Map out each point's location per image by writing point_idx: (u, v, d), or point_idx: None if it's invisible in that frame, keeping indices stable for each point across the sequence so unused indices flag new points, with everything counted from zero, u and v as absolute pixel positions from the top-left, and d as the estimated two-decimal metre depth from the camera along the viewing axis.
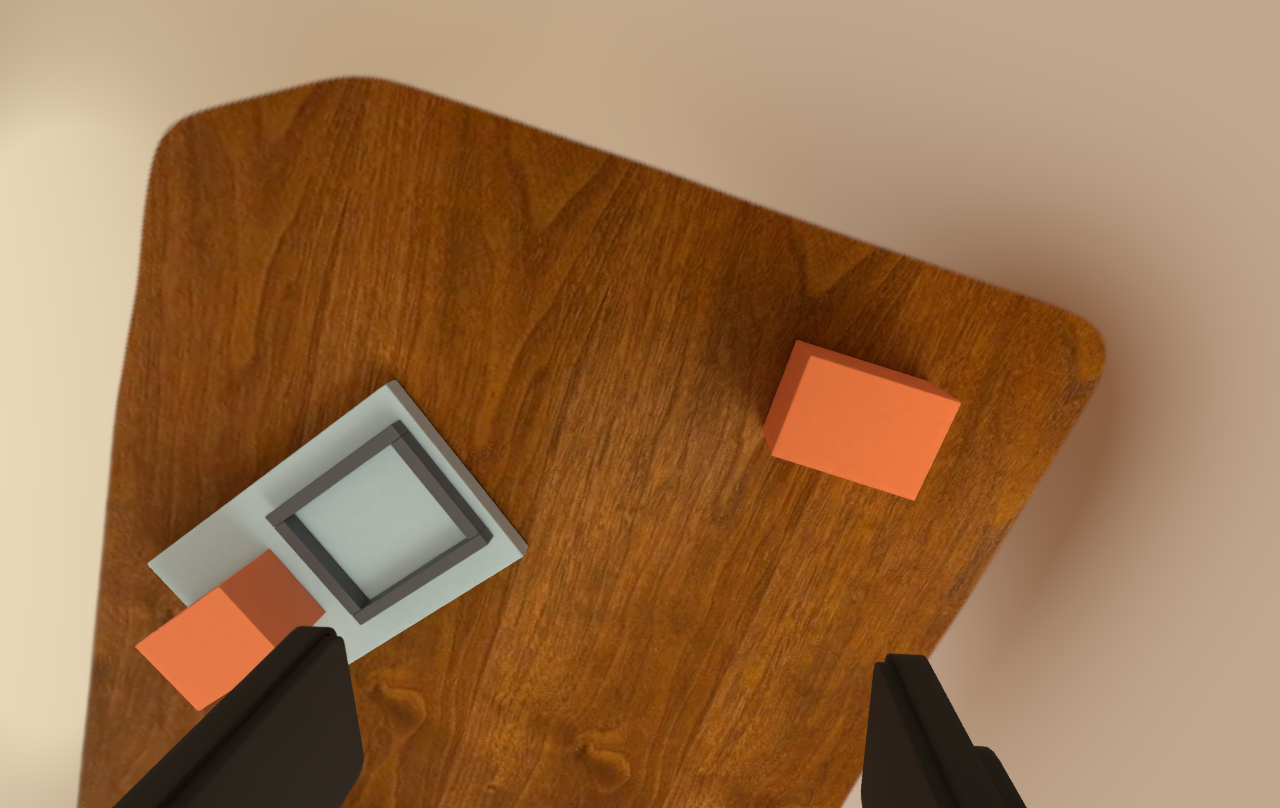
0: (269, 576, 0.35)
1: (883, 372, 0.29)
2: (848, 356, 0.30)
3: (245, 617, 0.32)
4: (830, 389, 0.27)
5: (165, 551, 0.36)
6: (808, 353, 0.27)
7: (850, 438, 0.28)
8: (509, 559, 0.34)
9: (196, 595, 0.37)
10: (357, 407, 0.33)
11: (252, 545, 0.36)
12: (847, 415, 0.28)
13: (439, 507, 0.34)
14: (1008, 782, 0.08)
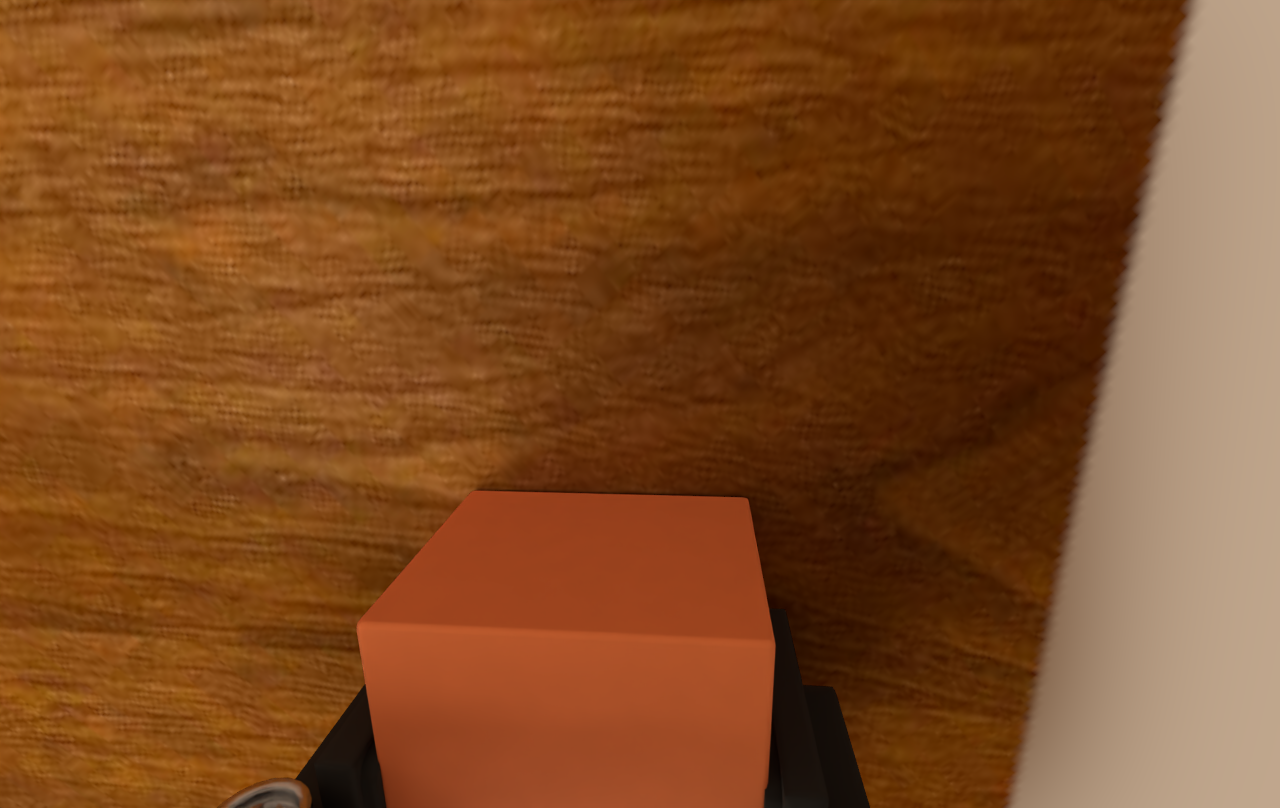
0: None
1: None
2: None
3: None
4: (668, 737, 0.07)
5: None
6: (767, 617, 0.07)
7: None
8: None
9: None
10: None
11: None
12: None
13: None
14: (840, 713, 0.09)
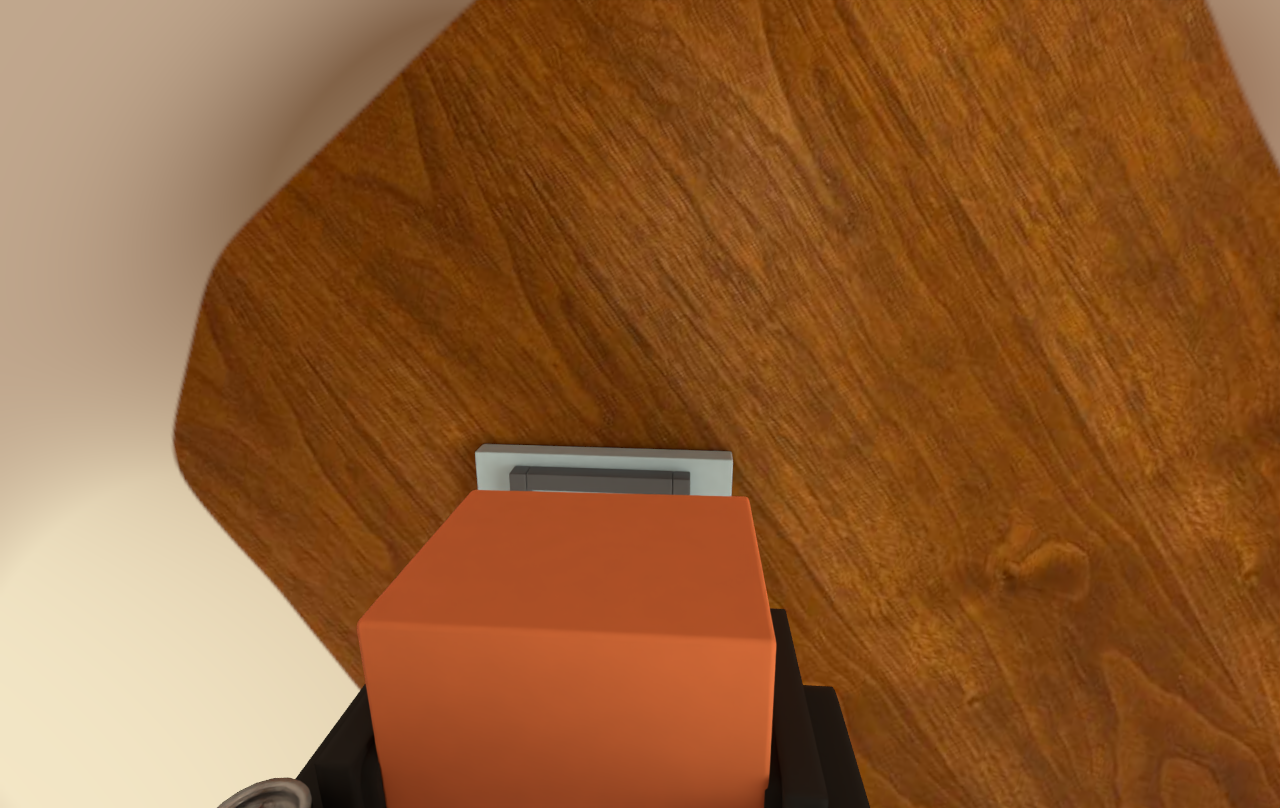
0: None
1: None
2: None
3: None
4: (669, 736, 0.07)
5: None
6: (768, 616, 0.07)
7: None
8: (726, 476, 0.28)
9: None
10: None
11: None
12: None
13: None
14: (840, 714, 0.09)
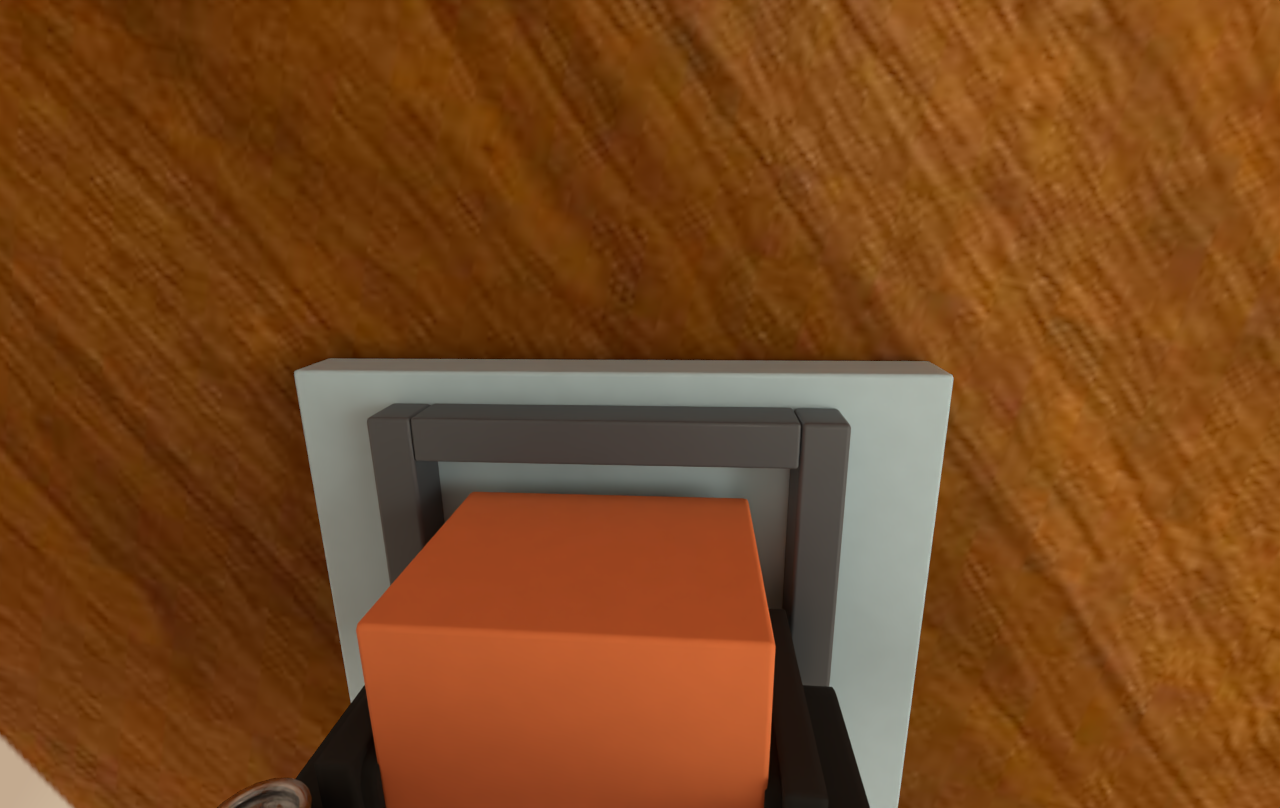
0: None
1: None
2: None
3: None
4: (668, 738, 0.07)
5: None
6: (767, 619, 0.07)
7: None
8: (932, 419, 0.11)
9: None
10: (315, 477, 0.12)
11: None
12: None
13: (666, 484, 0.11)
14: (840, 714, 0.09)
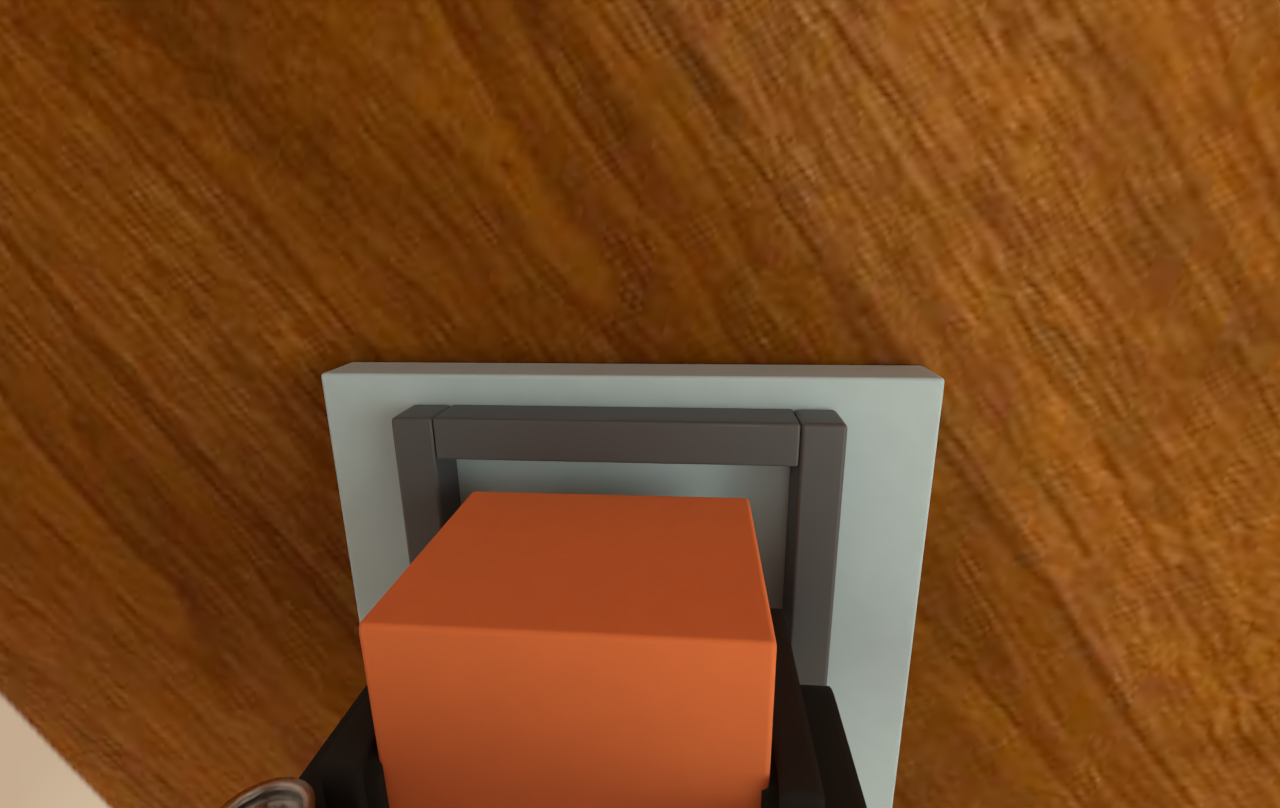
0: None
1: None
2: None
3: None
4: (669, 738, 0.07)
5: None
6: (769, 618, 0.07)
7: None
8: (925, 420, 0.11)
9: None
10: (340, 474, 0.13)
11: None
12: None
13: (672, 482, 0.12)
14: (837, 713, 0.10)
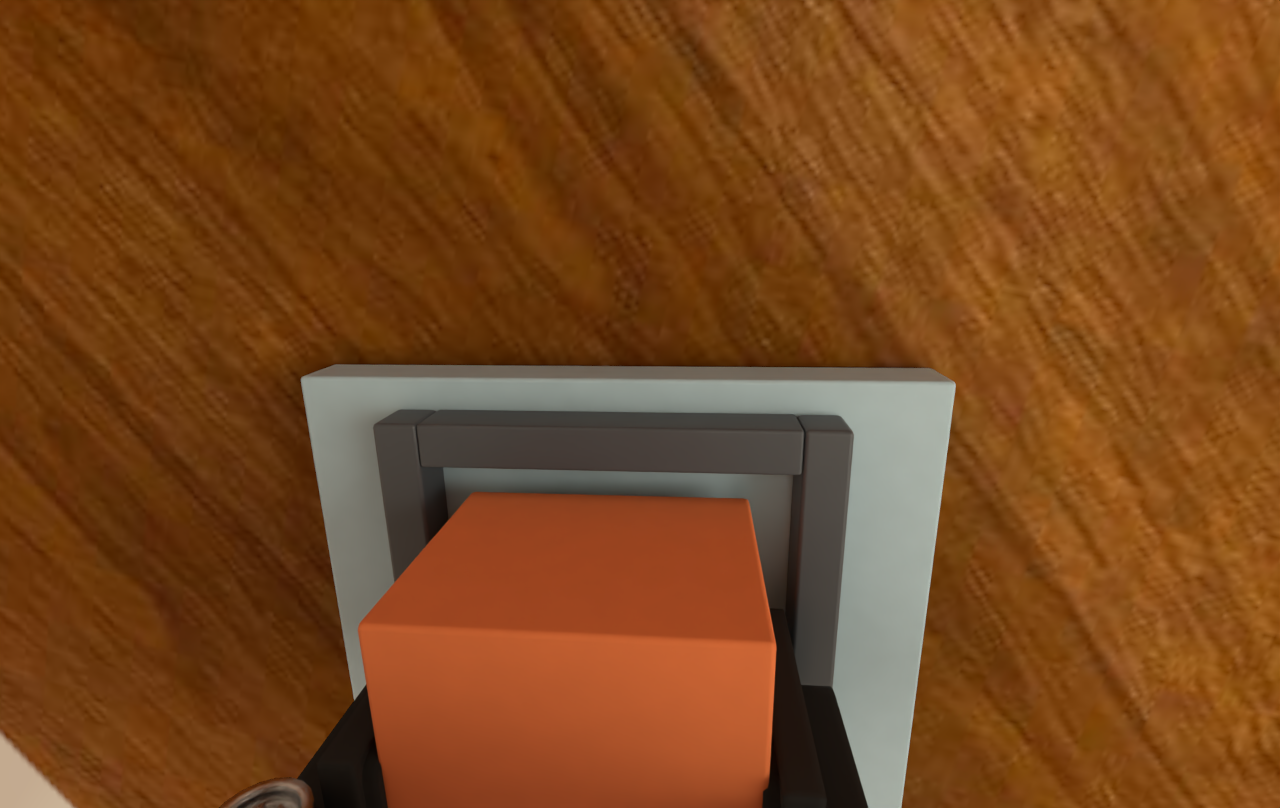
0: None
1: None
2: None
3: None
4: (669, 738, 0.07)
5: None
6: (768, 619, 0.07)
7: None
8: (935, 425, 0.11)
9: None
10: (321, 482, 0.12)
11: None
12: None
13: (669, 490, 0.12)
14: (838, 713, 0.09)
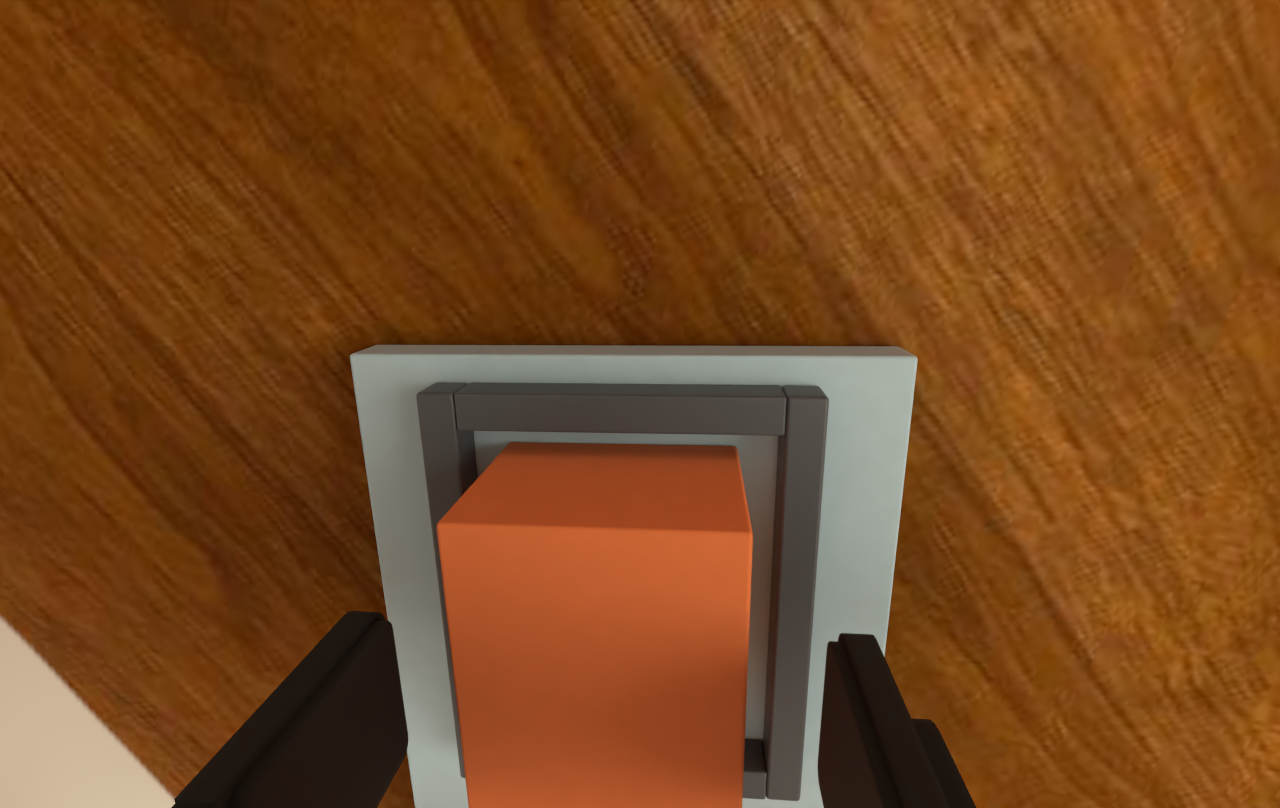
0: None
1: None
2: None
3: None
4: (672, 610, 0.10)
5: None
6: (748, 519, 0.10)
7: (562, 693, 0.10)
8: (900, 394, 0.12)
9: None
10: (366, 447, 0.14)
11: None
12: (619, 670, 0.10)
13: None
14: (946, 751, 0.09)
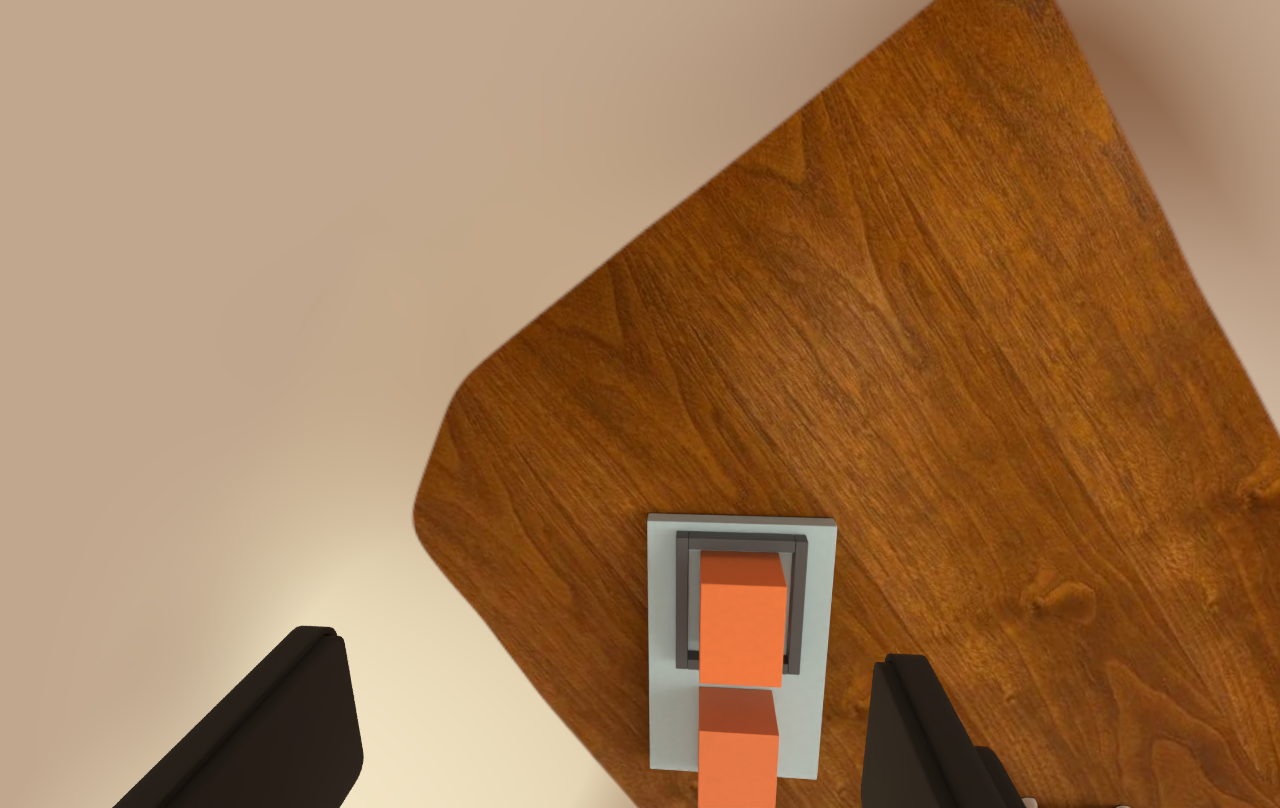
0: (717, 701, 0.41)
1: None
2: None
3: (733, 734, 0.38)
4: (765, 607, 0.36)
5: (651, 750, 0.44)
6: (785, 582, 0.36)
7: (732, 630, 0.36)
8: (832, 537, 0.39)
9: (694, 759, 0.44)
10: (649, 551, 0.40)
11: (688, 694, 0.43)
12: (749, 623, 0.36)
13: None
14: (1008, 783, 0.08)
